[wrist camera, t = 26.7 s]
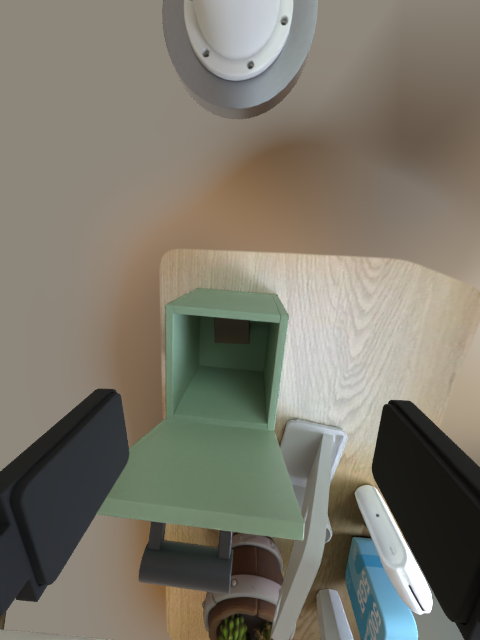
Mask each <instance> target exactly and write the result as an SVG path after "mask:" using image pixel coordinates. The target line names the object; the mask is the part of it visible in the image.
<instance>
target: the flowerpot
mask: <svg viewBox="0 0 480 640" xmlns="http://www.w3.org/2000/svg"><path fill="white" fill-rule="evenodd" d="M231 549H233V559H232V572H231V584H230V593H229V594H221V593H213V592H207V595H206V599H205V601H204V602H203V603H202V607H203V608H204V609H203V617H204V624H205V628H206V630H207V631H208V632H209V638H210V640H273V639H272V638H271V630H272V624H273V620H274V615H275V610H276V606H277V602H278V598H279V594H280V591H281V587H282V583H283V577H282V572H283V562H282V559H281V555H280V552H279V549H278V548H277V546H276V545H275V543H274V541H273V540H272V539H271V537H270V536H262V535H255V534H247V533H239V532H235V533H233V535H232V541H231ZM295 628H296V624H295V626H294V628H293V631H292V633H291V635H290V638H289V640H291V639H292V638H293V636H294V633H295Z"/></svg>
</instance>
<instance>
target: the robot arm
mask: <svg viewBox="0 0 480 640" xmlns="http://www.w3.org/2000/svg"><path fill="white" fill-rule="evenodd" d="M292 13H293V0H184V19H185V25H186V30H187V34H188V37H189V40H190V43H191V46H192V48H193V50H194V52H195V54H196V56H197V57H198V59H199V60H200V62H201V63H202V64H203V65H204V66H205V67H206V68H207V69H208V70H209V71H210V72H212V73H213V74H215V75H216V76H218V77H221V78H223V79H226V80H233V81H240V80H247V79H250V78H253V77H255V76H257V75H259V74H260V73H262V72H264V71H265V70H266V69H267V68H268V67H269V66H270V65H272V63H273V62H274V61H275V60H276V58H277V57H278V56H279V54H280V52H281V51H282V49H283V47H284V45H285V43H286V40H287V37H288V34H289V31H290V26H291V21H292ZM250 68H251V69H250ZM128 459H129V447H128V440H127V434H126V427H125V420H124V414H123V407H122V401H121V396H120V394H118V393H117V392H116V390H114V389H97V390H95V391H94V392H93V393H92V394H90V395H89V396H88V397H87V398H86V399H84V401H82V402H81V403H80V404H79V405H78V406H76V407H75V408H74V409H73V410H72V411H71V412H69V413H68V414H67V415H66V416H65V417H63V419H61V420H60V421H59V422H58V423H56V424H55V425H54V426H53V427H52V428H51V429H49V430H48V431H47V432H46V433H45V434H44V435H42V436H41V437H40V438H39V439H38V440H37V441H35V442H34V443H33V444H32V445H31V446H30V447H28V448H27V449H26V450H25V451H24V452H23V453H21V454H20V455H19V456H18V457H17V458H16V459H14V461H12V462H11V463H10V464H9V465H8V466H6V467H5V468H4V469H3V470H2V471H0V640H110V639H99V638H89V637H79V636H67V635H58V634H47V633H38V632H27V631H15V630H4V624H5V617H6V611H7V609H8V608H9V606H10V605H11V603H12V602H13V601H14V599H15V598H16V600H23V601H33V602H37V601H38V600H39V598H40V597H41V595H42V593H43V592H44V590H45V589H46V587H47V585H50V584H52V583H53V582H54V581H55V580H56V579H57V577H58V576H59V574H60V573H61V571H62V569H63V568H64V566H65V564H66V563H67V561H68V559H69V558H70V556H71V555H72V553H73V551H74V549H75V548H76V546H77V545H78V543H79V541H80V540H81V538H82V536H83V535H84V533H85V532H86V530H87V528H88V527H89V525H90V523H91V522H92V520H93V519H94V517H95V515H96V514H97V512H98V510H99V509H100V507H101V505H102V504H103V502H104V501H105V499H106V497H107V496H108V494H109V492H110V491H111V489H112V487H113V486H114V484H115V483H116V481H117V479H118V478H119V476H120V474H121V473H122V471H123V469H124V468H125V466H126V464H127V462H128ZM372 473H373V477H374V479H375V481H376V483H377V485H378V487H379V489H380V491H381V493H382V495H383V496H384V498H385V500H386V502H387V504H388V506H389V508H390V510H391V512H392V514H393V516H394V518H395V519H396V521H397V523H398V525H399V527H400V529H401V531H402V533H403V535H404V537H405V539H406V541H407V542H408V544H409V546H410V548H411V550H412V552H413V554H414V556H415V558H416V559H417V562H418V563H419V565H420V567H421V569H422V571H423V573H424V575H425V577H426V579H427V581H428V583H429V584H430V586H431V588H432V590H433V592H434V594H435V596H436V598H437V600H438V602H439V604H440V606H441V608H442V609H443V611H444V613H445V614H446V616H447V617H448V618H449V619H450V620H451V621H452V622H455V623H456V625H457V627H458V628H459V630H460V632H461V634H462V636H463V638H464V639H465V640H480V467H479V466H478V465H477V464H476V463H475V462H474V461H473V460H472V459H471V458H469V456H467V455H466V454H465V453H464V452H463V451H462V450H461V449H460V448H459V447H458V446H457V445H456V444H455V443H454V442H453V441H452V440H451V439H450V438H449V437H448V436H446V435H445V433H443V432H442V431H441V430H440V429H439V428H438V427H437V426H436V425H435V424H434V423H433V422H432V421H431V420H430V419H429V418H428V417H427V416H426V415H425V414H424V413H423V412H422V411H421V410H420V409H419V408H418V407H416V406H415V405H414V404H413V403H412V402H411V401H403V400H391V401H389V402H388V404H385V405H384V406H383V410H382V416H381V421H380V426H379V431H378V437H377V442H376V447H375V453H374V458H373V463H372Z"/></svg>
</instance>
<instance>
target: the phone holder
mask: <svg viewBox="0 0 480 640" xmlns="http://www.w3.org/2000/svg"><path fill="white" fill-rule="evenodd" d="M347 439H348V437H347V435H346V433H345V431H344V430H343V429H341V428H336V427H332V426H327V425H323V424H318V423H313V422H309V421H304V420H300V419H297V420H293V419H291V420H289V421H288V422H287V424H286V427H285V431H284V434H283V437H282V441H281V444H280V450H281V453H282V456H283V459H284V462H285V465H286V468H287V471H288V475H289V478H290V481H291V484H292V487H293V490H294V493H295V496H296V499H297V502H298V505H299V508H300V512H301V515H302V518H303V521H304V524H305V525H304V540H303V541H301V540H295V541H294V544H293V548H292V551H291V555H290V558H289V562H288V566H287V569H286V573H285V576H284V580H283V583H282V587H281V591H280V594H279V598H278V602H277V606H276V610H275V615H274V620H273V624H272V630H271V638H272V639H273V640H289V638H290V635H291V633H292V631H293V628H294V626H295V624H296V621H297V619H298V617H299V614H300V612H301V610H302V607H303V605H304V602H305V600H306V598H307V595H308V593H309V591H310V588H311V586H312V584H313V581H314V579H315V576H316V574H317V572H318V569H319V566H320V563H321V559H322V555H323V550H324V545H325V543H327V542H328V541H329V540H330V539H331V537H332V529H331V525H330V522H329V518H328V501H329V488H330V483H331V481H332V478H333V476H334V473H335V471H336V468H337V465H338V463H339V460H340V458H341V455H342V453H343V450H344V447H345V445H346V442H347ZM292 540H293V539H292Z"/></svg>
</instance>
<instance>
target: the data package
mask: <svg viewBox="0 0 480 640" xmlns="http://www.w3.org/2000/svg"><path fill="white" fill-rule="evenodd" d="M345 580H346V586H347V589H348V593H349V597H350V600H351V604H352V608H353V611H354V615H355V618H356V622H357V626H358V629H359V633H360V637H361V640H417V639H418V631H417V626H416V623H415V620H414V617H413V615H412V612H411V610H410V608H409V607H408V606H407V605H406V604H405V603H404V602H403V601H402V599H401V598H400V596H399V595H398V593H397V591H396V590H395V588H394V586H393V585H392V583H391V581H390V579H389V577H388V575H387V573H386V571H385V569H384V567H383V565H382V563H381V560H380V558H379V555H378V553H377V550H376V548H375V545H374V543H373V541H372V539H371V538H360V537H353V538H352V542H351V547H350V552H349V557H348V562H347V567H346V572H345Z"/></svg>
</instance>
